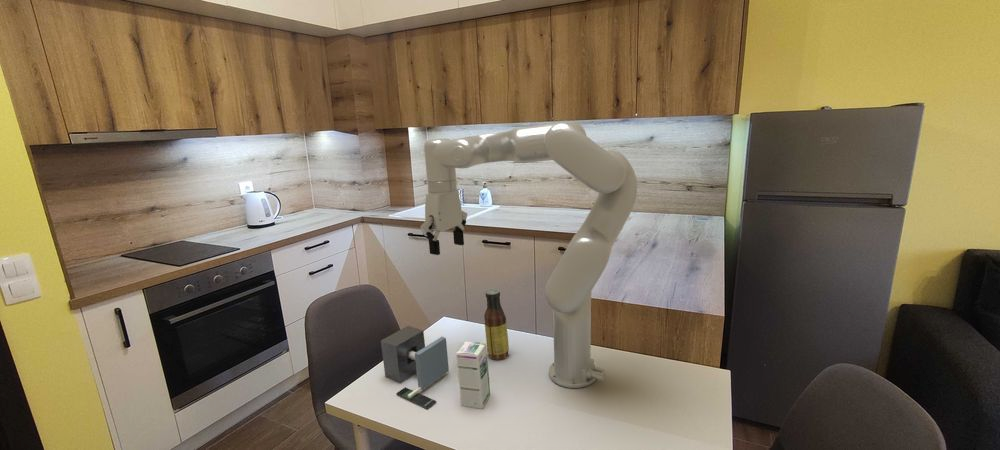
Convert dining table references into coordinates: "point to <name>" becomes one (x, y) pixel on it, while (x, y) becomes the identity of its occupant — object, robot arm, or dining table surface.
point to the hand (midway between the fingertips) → (447, 249)
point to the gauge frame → (404, 361)
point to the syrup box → (473, 374)
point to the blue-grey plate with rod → (430, 363)
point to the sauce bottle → (495, 326)
